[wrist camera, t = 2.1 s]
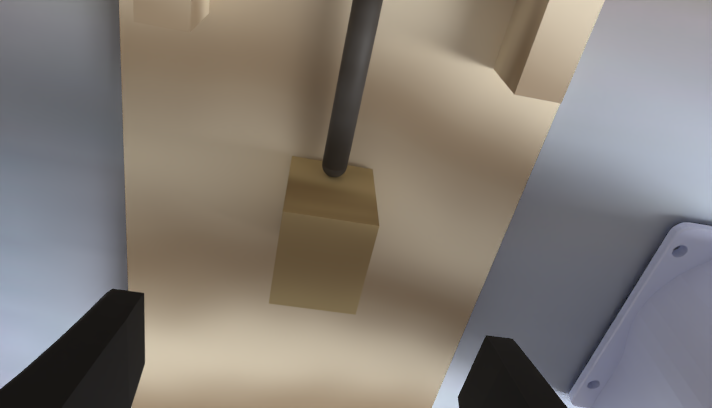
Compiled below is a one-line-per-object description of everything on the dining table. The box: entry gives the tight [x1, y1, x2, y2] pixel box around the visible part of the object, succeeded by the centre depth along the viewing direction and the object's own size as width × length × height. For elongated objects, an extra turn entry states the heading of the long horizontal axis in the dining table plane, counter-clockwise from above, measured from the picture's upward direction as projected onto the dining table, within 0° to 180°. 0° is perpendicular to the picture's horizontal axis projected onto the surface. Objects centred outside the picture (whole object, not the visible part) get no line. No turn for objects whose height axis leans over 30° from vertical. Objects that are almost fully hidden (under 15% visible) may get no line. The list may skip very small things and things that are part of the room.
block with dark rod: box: [269, 0, 383, 315], centre depth 11 cm, size 16×6×4 cm, turn 169°
